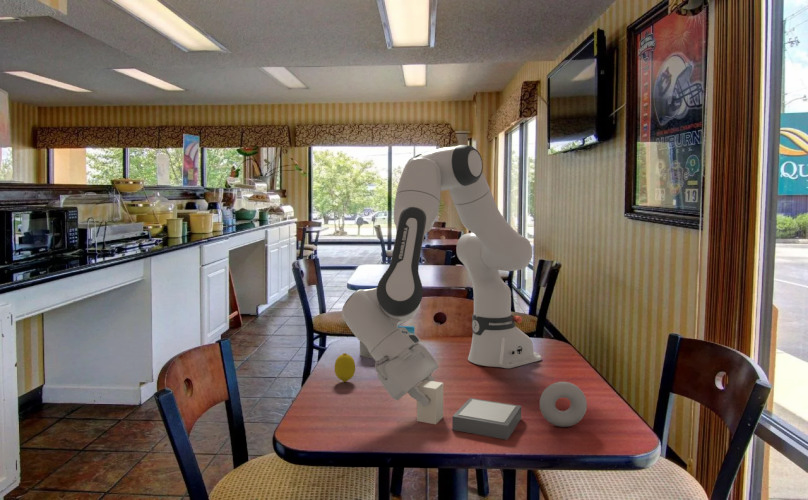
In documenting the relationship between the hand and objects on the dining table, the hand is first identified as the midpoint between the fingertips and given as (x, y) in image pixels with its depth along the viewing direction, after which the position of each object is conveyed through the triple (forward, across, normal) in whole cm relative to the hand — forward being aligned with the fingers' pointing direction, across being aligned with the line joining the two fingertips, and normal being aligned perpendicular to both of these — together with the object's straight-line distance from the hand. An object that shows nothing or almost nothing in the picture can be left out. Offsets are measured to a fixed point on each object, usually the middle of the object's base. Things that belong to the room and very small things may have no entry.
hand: (432, 399), depth 125 cm
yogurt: (-22, +55, +28) cm, 66 cm away
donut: (+22, +8, -16) cm, 29 cm away
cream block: (+3, 0, +4) cm, 5 cm away
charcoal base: (+12, +2, -5) cm, 13 cm away
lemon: (-18, +14, +25) cm, 34 cm away
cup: (-23, +41, +30) cm, 55 cm away
